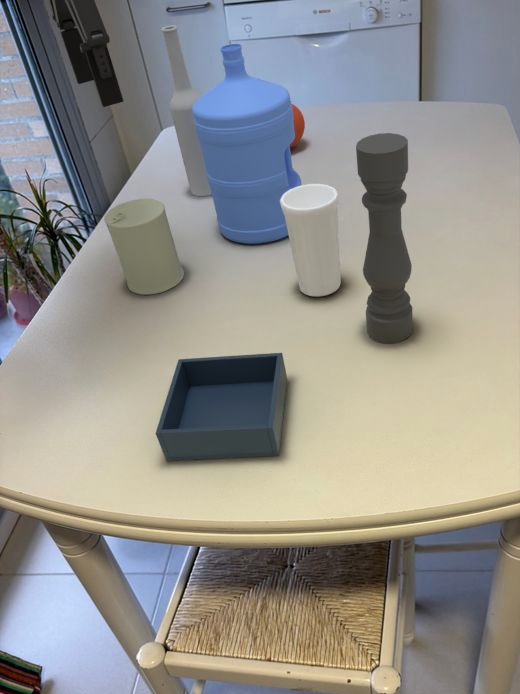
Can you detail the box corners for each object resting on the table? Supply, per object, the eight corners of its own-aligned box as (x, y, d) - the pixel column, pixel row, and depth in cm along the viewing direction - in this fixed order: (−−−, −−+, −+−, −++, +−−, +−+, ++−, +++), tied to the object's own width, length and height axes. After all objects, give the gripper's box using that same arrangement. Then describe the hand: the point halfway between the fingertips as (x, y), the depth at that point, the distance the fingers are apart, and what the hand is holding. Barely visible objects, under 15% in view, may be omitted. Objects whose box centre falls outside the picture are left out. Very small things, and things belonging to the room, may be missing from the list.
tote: (166, 461, 75) (155, 433, 72) (187, 386, 84) (178, 359, 81) (279, 455, 73) (272, 427, 70) (287, 380, 83) (282, 352, 80)
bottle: (230, 187, 127) (195, 24, 108) (202, 199, 125) (161, 34, 105) (212, 178, 131) (175, 20, 112) (184, 190, 129) (142, 30, 109)
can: (117, 281, 106) (91, 212, 97) (165, 258, 109) (144, 189, 101) (146, 301, 100) (121, 230, 92) (195, 276, 104) (175, 205, 96)
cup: (358, 283, 97) (350, 192, 87) (319, 308, 94) (307, 215, 84) (320, 267, 102) (309, 178, 92) (282, 290, 98) (267, 200, 88)
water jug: (246, 256, 107) (206, 71, 88) (204, 224, 117) (161, 51, 98) (324, 223, 112) (303, 42, 93) (278, 195, 122) (251, 26, 103)
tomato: (253, 147, 141) (244, 98, 134) (296, 135, 143) (289, 86, 136) (270, 162, 134) (262, 111, 127) (315, 149, 136) (309, 98, 129)
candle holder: (375, 314, 91) (364, 131, 74) (418, 319, 89) (416, 133, 72) (361, 340, 87) (345, 153, 70) (405, 346, 85) (401, 155, 68)
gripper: (94, -111, 67) (153, 106, 81) (45, -115, 83) (102, 66, 98) (22, -98, 65) (96, 122, 79) (-14, -104, 81) (53, 79, 96)
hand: (99, 92), depth 89 cm, fingers open, 13 cm apart
